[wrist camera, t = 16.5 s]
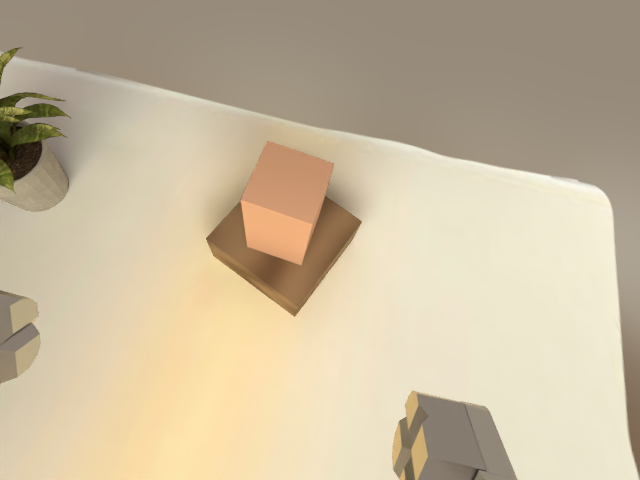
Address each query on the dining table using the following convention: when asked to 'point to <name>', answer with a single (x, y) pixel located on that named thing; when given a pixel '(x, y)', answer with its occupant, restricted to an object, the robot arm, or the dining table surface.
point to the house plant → (28, 152)
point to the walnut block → (278, 274)
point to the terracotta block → (284, 201)
